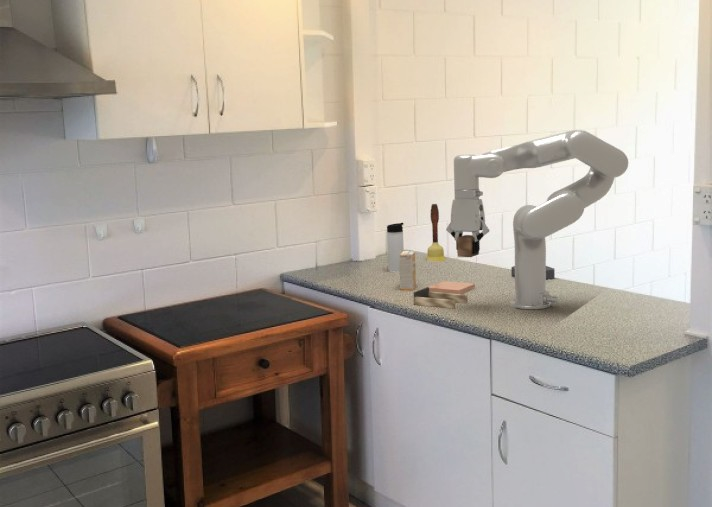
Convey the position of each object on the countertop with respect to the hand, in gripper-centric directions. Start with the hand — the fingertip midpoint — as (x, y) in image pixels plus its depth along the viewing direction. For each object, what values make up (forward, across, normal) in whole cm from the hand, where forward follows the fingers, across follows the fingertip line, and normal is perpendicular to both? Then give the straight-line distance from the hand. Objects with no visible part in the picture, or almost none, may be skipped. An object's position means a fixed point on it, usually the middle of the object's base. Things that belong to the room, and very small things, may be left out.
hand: (468, 252), depth 250 cm
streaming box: (+18, -2, -48) cm, 52 cm away
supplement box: (+17, +32, -16) cm, 40 cm away
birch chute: (+17, +10, 0) cm, 20 cm away
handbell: (+17, +47, -64) cm, 81 cm away
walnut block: (+1, 0, 0) cm, 1 cm away
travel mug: (+17, +51, -40) cm, 66 cm away
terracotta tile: (+17, +16, -18) cm, 30 cm away
